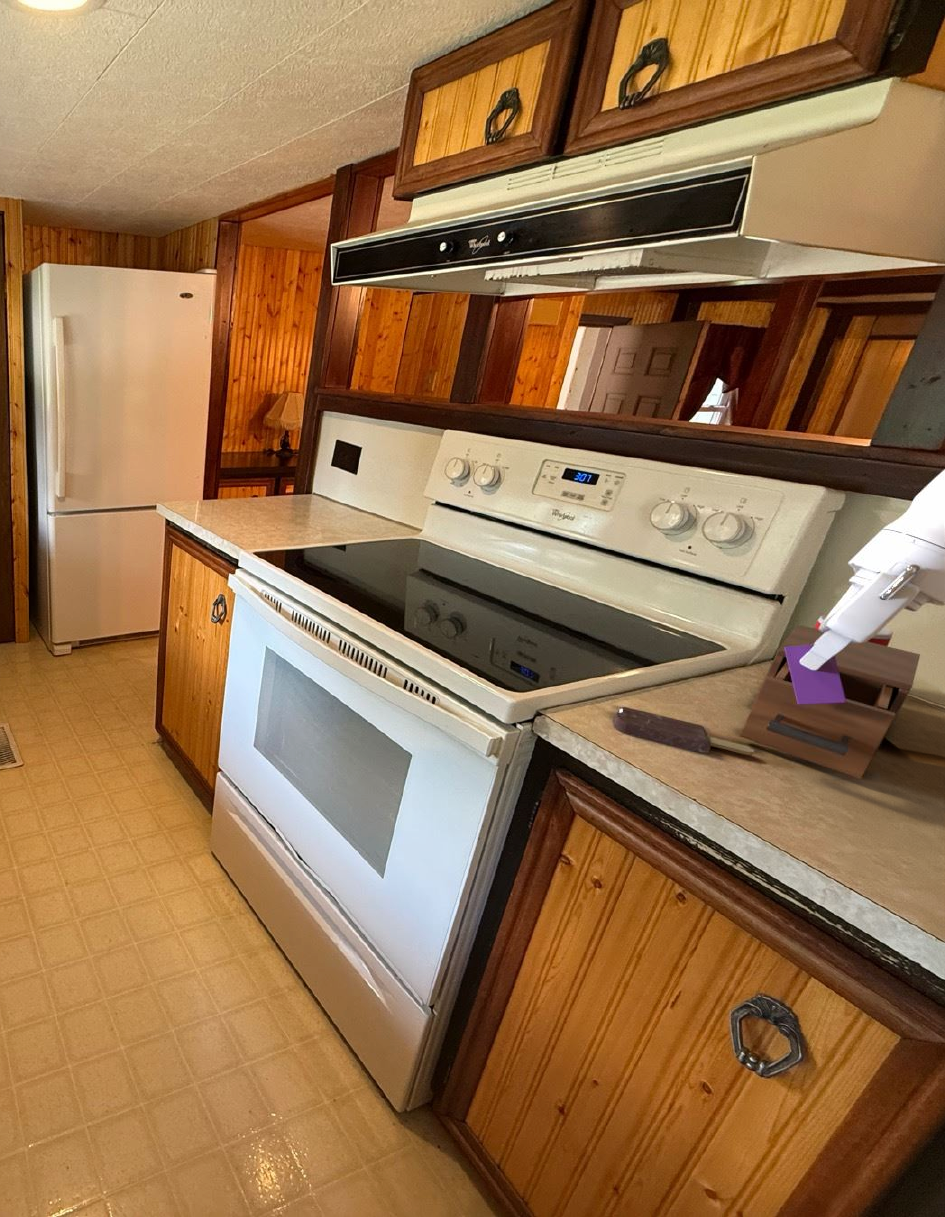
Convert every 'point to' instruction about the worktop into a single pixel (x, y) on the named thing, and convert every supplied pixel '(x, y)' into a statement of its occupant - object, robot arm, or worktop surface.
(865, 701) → the drawer
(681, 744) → the ice cream bar
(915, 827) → the worktop surface
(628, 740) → the worktop surface
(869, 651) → the cabinet
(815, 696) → the snack box
